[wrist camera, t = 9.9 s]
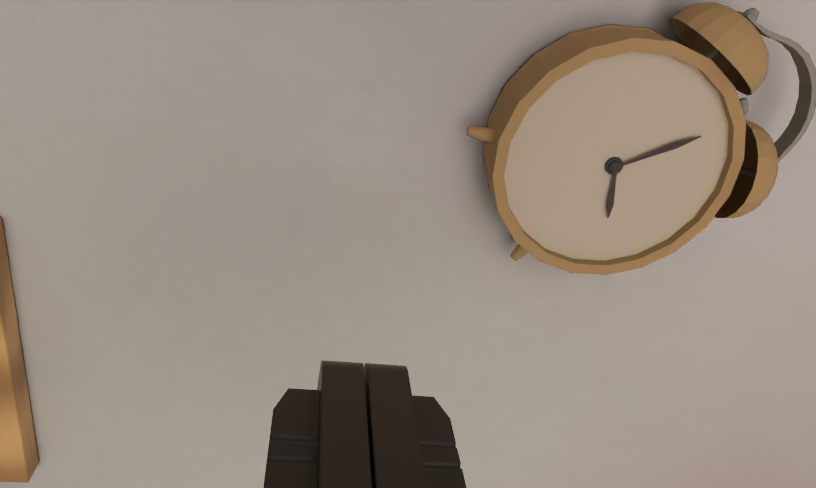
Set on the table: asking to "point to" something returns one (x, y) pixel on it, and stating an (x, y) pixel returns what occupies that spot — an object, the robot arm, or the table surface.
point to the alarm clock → (636, 139)
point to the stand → (13, 388)
